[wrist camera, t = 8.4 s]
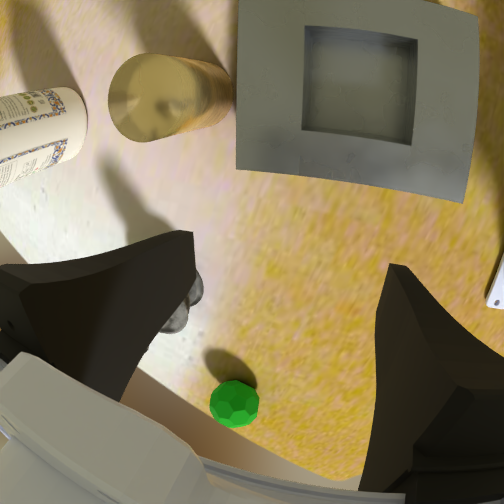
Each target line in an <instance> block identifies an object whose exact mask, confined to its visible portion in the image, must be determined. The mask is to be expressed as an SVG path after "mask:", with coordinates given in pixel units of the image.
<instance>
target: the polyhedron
mask: <svg viewBox="0 0 504 504" xmlns="http://www.w3.org/2000/svg"><path fill="white" fill-rule="evenodd" d="M258 405H259V396H258V395H257V393H256V391H255V389H253V388H252V387H250V386H248V385H246V384H244V383H242V382H240V381H237V380H233V381H226V382H224V383H222V384H220V385H219V386H218V387H217V388H216V389H215V390H214V391H213V392H212V394H211V399H210V411H211V413H212V415H213V417H214V419H215V420H216V421H218V422H219V423H221V424H223V425H225V426H227V427H229V428H236V427H242V426H246V425H249V424H250V423H251V422H252V421H253V420H254V419H255V418H256V417H257V412H258Z"/></svg>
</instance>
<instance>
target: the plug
mask: <svg viewBox="0 0 504 504" xmlns="http://www.w3.org/2000/svg"><path fill="white" fill-rule="evenodd" d="M233 96H234V91H233V85H232V82H231V79H230V77H229V76H228V74H227V73H226V72H225V71H224V70H223V69H222V68H221V67H219V66H218V65H215V64H213V63H209V62H204V61H198V60H193V59H187V58H181V57H175V56H168V55H161V54H153V53H144V54H139V55H136V56H134V57H132V58H130V59H128V60H127V61H126V62H125V63H124V64H123V65H122V66H121V67H120V68H119V69H118V70H117V72H116V74H115V75H114V77H113V79H112V82H111V85H110V89H109V94H108V107H109V112H110V116H111V119H112V121H113V123H114V125H115V127H116V128H117V129H118V131H119V132H120V133H121V134H122V135H124V136H125V137H126V138H128V139H130V140H133V141H136V142H150V141H154V140H158V139H161V138H165V137H169V136H172V135H176V134H180V133H184V132H188V131H192V130H197V129H201V128H205V127H209V126H212V125H215V124H217V123H218V122H220V121H221V120H222V119H223V118H224V117H225V116H226V115H227V113H228V112H229V110H230V108H231V105H232V102H233Z"/></svg>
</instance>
